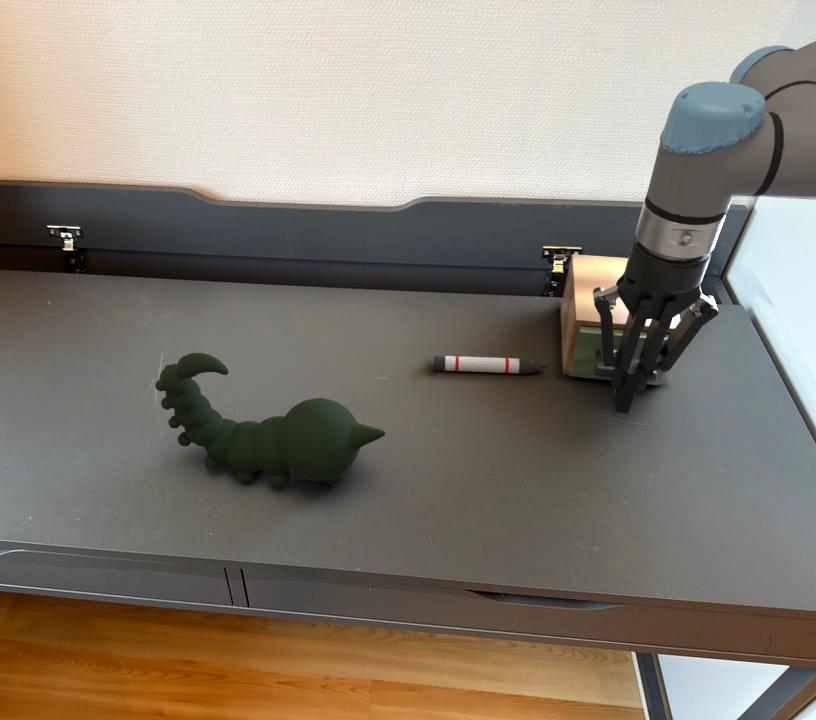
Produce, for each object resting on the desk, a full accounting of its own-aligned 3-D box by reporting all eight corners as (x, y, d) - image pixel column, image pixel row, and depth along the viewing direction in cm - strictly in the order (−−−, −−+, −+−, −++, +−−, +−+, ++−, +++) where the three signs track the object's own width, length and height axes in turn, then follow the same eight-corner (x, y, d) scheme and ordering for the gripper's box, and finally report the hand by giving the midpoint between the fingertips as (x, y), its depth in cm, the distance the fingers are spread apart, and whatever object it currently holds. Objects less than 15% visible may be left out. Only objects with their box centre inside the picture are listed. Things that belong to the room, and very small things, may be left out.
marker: (433, 373, 97) (434, 362, 95) (433, 363, 98) (434, 352, 97) (547, 377, 95) (550, 366, 94) (546, 367, 96) (548, 356, 95)
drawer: (664, 409, 88) (681, 364, 83) (570, 399, 91) (581, 354, 85) (648, 319, 101) (662, 275, 96) (566, 312, 103) (575, 269, 98)
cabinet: (661, 384, 93) (682, 329, 86) (562, 374, 95) (575, 319, 89) (649, 314, 103) (667, 260, 97) (560, 307, 106) (571, 253, 99)
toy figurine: (183, 494, 86) (385, 513, 80) (132, 384, 73) (367, 396, 67) (209, 436, 92) (397, 449, 86) (166, 326, 80) (382, 331, 74)
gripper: (609, 258, 70) (567, 421, 86) (750, 268, 68) (681, 433, 84) (603, 220, 76) (565, 379, 91) (733, 228, 73) (671, 390, 89)
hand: (620, 405), depth 87 cm, fingers closed
